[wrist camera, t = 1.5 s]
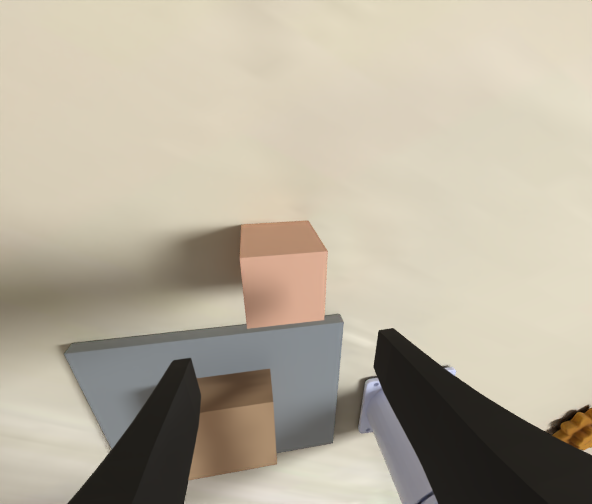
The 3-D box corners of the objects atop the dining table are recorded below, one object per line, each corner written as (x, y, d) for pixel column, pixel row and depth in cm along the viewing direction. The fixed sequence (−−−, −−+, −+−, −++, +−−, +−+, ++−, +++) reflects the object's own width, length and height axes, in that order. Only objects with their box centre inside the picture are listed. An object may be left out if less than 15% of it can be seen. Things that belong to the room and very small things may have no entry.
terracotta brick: (308, 220, 19) (327, 251, 14) (307, 277, 21) (324, 320, 16) (241, 224, 18) (239, 258, 14) (247, 282, 20) (247, 328, 15)
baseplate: (339, 314, 22) (343, 322, 22) (330, 433, 29) (332, 443, 29) (72, 343, 20) (63, 354, 19) (131, 467, 27) (127, 479, 26)
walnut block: (270, 368, 22) (273, 401, 20) (274, 428, 26) (277, 464, 23) (167, 382, 21) (156, 419, 19) (186, 443, 25) (178, 482, 22)
